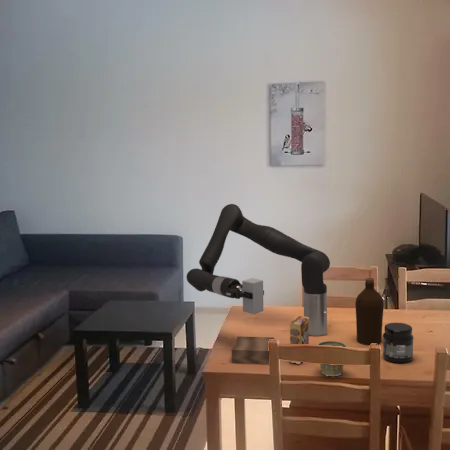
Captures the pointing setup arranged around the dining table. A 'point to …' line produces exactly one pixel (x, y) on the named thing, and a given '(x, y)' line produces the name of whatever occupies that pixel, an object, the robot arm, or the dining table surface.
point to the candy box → (299, 331)
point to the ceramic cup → (327, 368)
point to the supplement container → (398, 342)
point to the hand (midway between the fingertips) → (257, 294)
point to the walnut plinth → (251, 350)
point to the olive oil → (369, 314)
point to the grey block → (256, 289)
